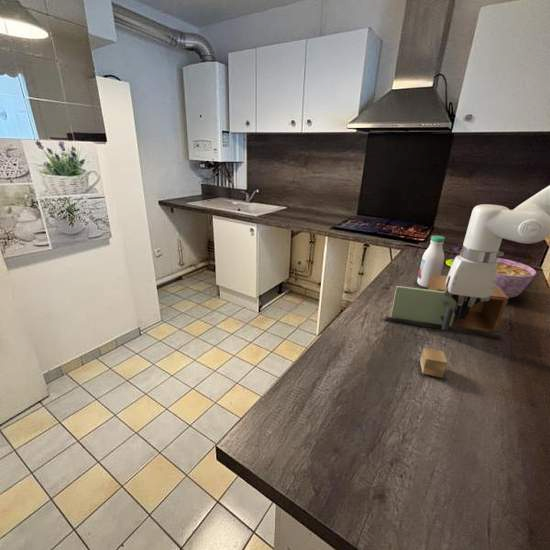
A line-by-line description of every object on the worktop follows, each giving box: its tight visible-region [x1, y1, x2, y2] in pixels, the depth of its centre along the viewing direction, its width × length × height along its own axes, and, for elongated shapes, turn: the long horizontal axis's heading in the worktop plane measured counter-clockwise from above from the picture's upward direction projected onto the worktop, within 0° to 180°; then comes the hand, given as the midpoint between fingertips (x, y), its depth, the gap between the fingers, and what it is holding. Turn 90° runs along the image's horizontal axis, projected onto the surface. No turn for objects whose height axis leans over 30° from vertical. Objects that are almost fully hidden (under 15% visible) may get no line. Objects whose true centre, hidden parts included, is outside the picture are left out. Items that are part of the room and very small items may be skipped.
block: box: [419, 347, 448, 378], centre depth 71 cm, size 4×4×4 cm
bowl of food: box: [495, 257, 537, 299], centre depth 108 cm, size 20×20×12 cm
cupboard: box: [385, 274, 510, 339], centre depth 92 cm, size 31×14×12 cm, turn 72°
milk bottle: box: [416, 235, 446, 289], centre depth 114 cm, size 8×8×20 cm
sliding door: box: [390, 285, 457, 331], centre depth 86 cm, size 17×7×11 cm, turn 72°
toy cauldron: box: [445, 243, 463, 267], centre depth 137 cm, size 15×15×11 cm
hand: (459, 316), depth 81 cm, fingers closed
